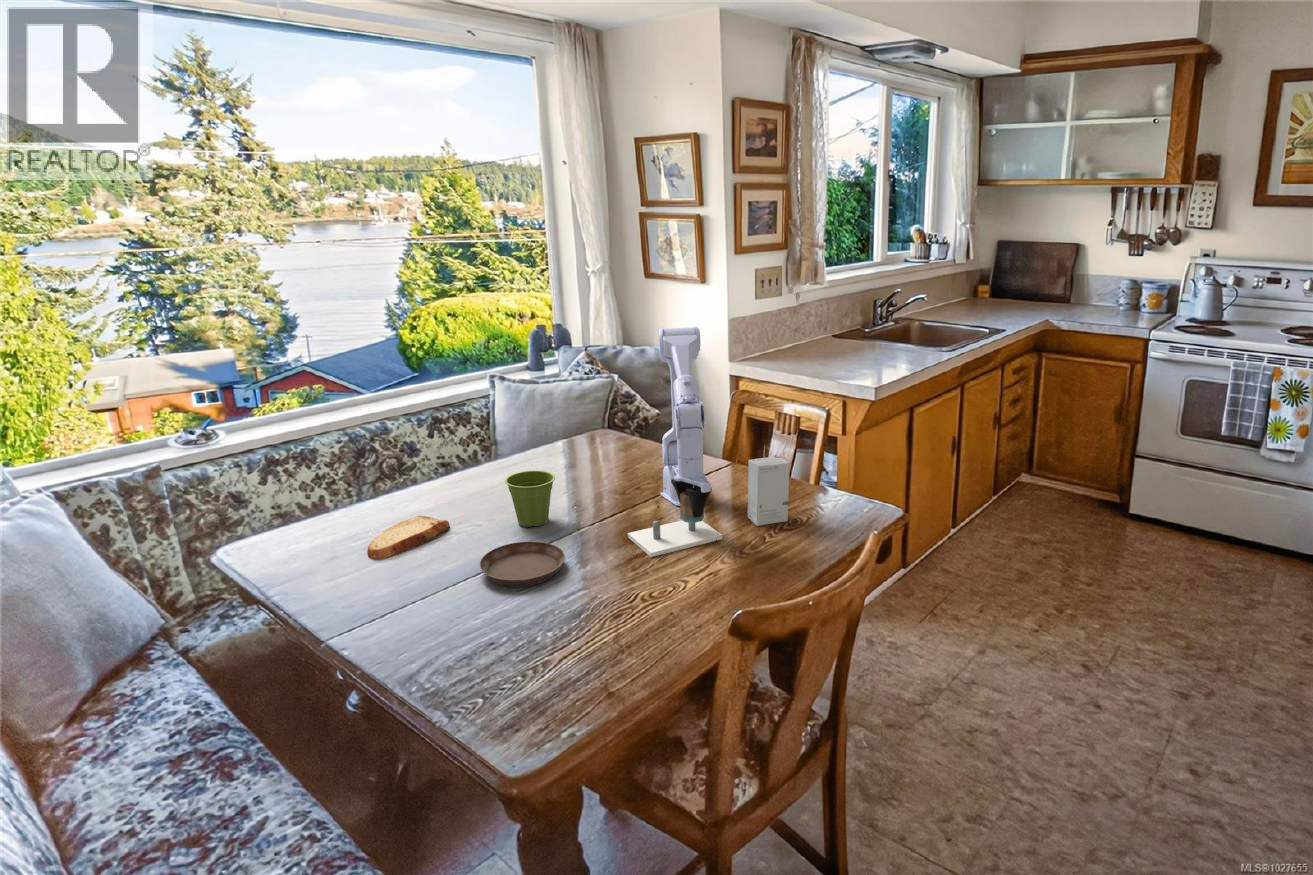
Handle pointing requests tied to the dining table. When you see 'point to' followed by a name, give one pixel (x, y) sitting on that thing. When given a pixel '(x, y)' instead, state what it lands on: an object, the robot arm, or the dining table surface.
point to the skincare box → (768, 490)
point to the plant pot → (531, 496)
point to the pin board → (673, 537)
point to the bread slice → (405, 536)
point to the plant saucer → (522, 563)
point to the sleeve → (687, 509)
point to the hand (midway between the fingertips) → (691, 512)
